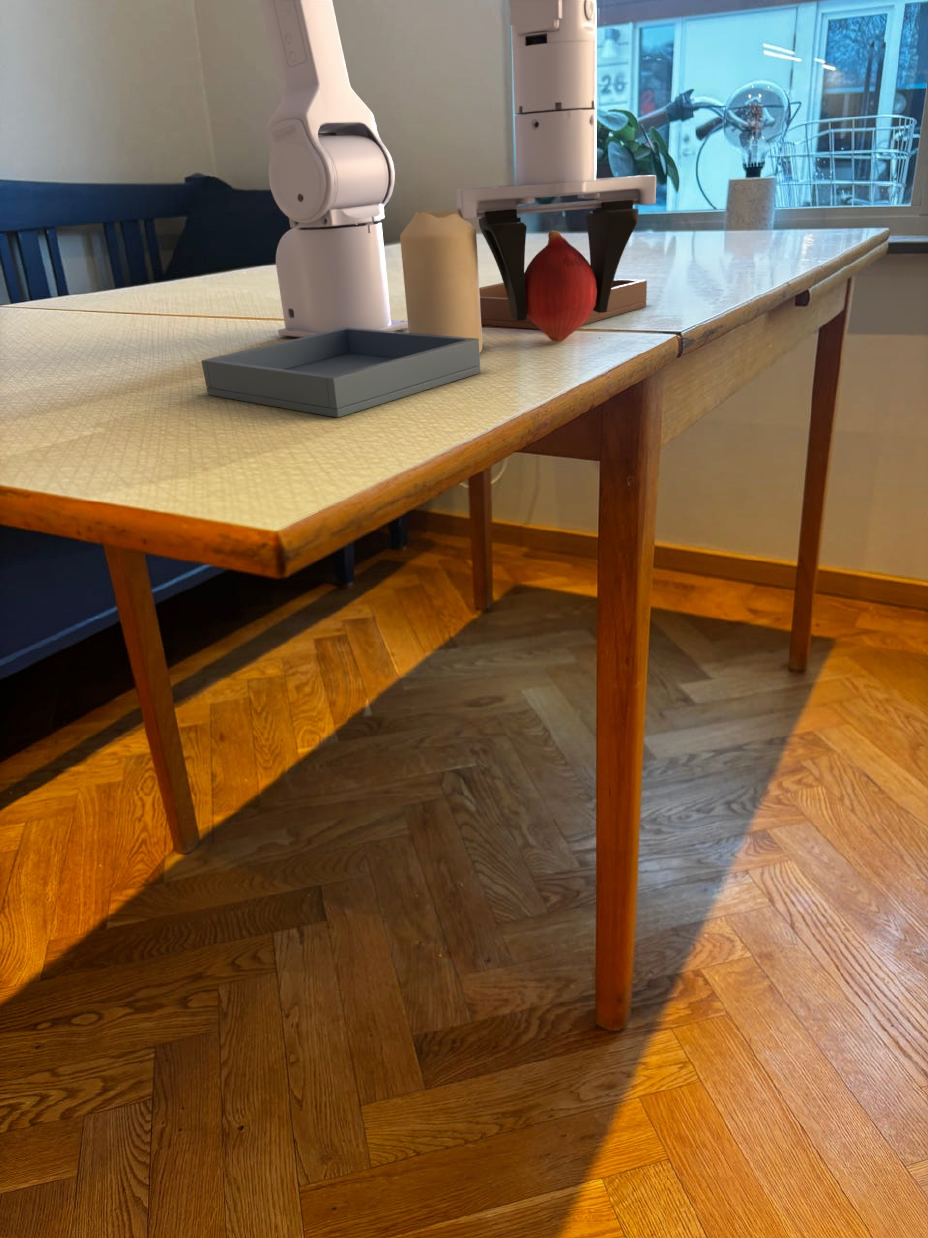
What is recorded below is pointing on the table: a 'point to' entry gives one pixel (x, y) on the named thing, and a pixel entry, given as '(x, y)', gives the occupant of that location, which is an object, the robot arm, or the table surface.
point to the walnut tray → (620, 301)
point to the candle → (441, 275)
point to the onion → (559, 288)
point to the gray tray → (341, 369)
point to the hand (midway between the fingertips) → (558, 314)
